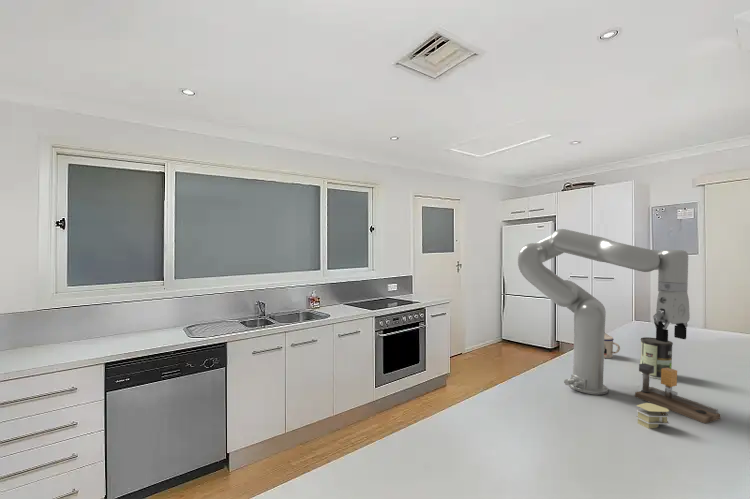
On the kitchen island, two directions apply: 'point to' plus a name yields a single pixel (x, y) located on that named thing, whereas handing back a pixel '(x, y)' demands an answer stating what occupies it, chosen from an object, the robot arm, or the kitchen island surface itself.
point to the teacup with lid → (609, 346)
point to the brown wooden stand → (674, 400)
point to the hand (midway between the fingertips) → (671, 339)
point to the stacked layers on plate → (652, 415)
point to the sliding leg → (669, 381)
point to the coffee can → (656, 355)
